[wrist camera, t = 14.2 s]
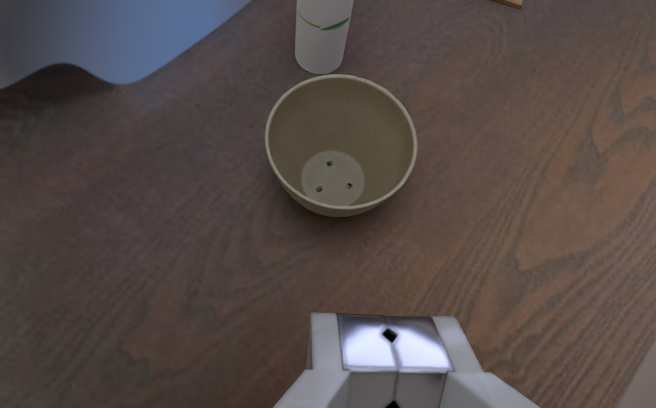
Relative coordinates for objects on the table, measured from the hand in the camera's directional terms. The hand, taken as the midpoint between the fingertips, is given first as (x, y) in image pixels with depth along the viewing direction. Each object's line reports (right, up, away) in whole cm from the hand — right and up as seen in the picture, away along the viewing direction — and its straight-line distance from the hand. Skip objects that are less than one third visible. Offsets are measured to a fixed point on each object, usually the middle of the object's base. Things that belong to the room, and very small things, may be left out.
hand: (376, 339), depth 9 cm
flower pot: (-1, +5, +27) cm, 27 cm away
